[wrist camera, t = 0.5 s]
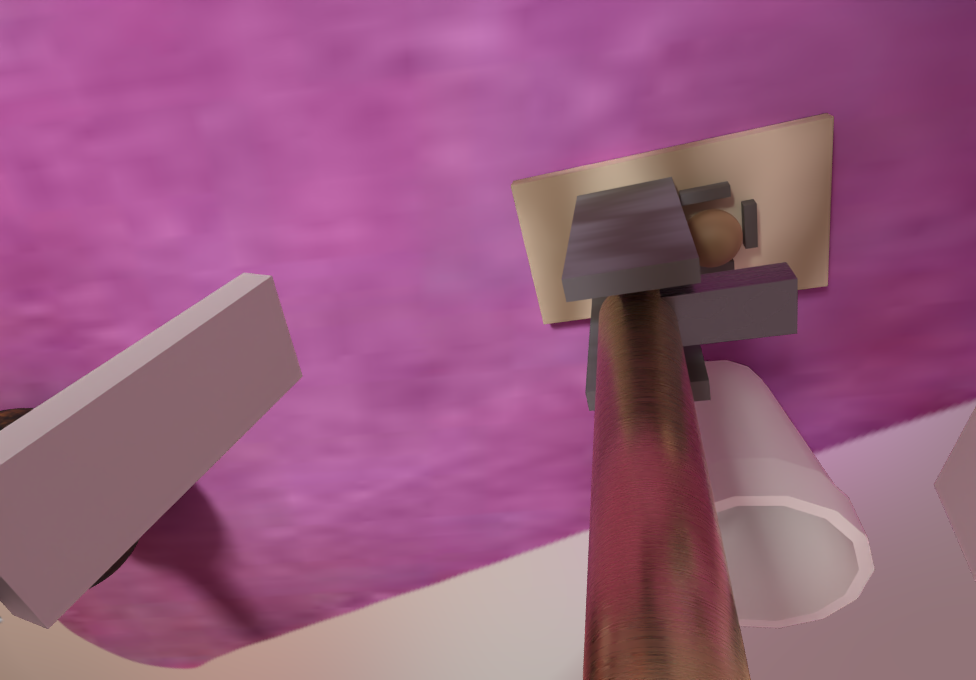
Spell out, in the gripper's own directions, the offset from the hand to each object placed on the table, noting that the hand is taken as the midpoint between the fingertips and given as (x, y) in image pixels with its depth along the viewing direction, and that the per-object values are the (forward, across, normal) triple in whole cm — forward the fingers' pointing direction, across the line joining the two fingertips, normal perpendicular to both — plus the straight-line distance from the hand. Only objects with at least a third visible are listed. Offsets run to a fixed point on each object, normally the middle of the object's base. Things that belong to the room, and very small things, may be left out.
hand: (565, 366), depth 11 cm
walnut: (+22, +3, -6) cm, 23 cm away
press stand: (+23, +1, -6) cm, 23 cm away
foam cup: (+23, +5, -18) cm, 30 cm away
